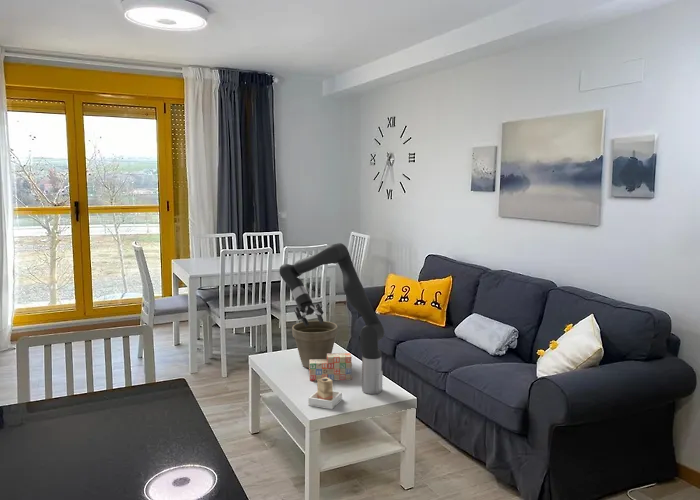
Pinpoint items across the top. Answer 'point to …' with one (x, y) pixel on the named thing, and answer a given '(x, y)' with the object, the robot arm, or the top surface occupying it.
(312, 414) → the top surface
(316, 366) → the stack of blocks
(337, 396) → the white tray
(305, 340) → the plant pot
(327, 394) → the oak block
